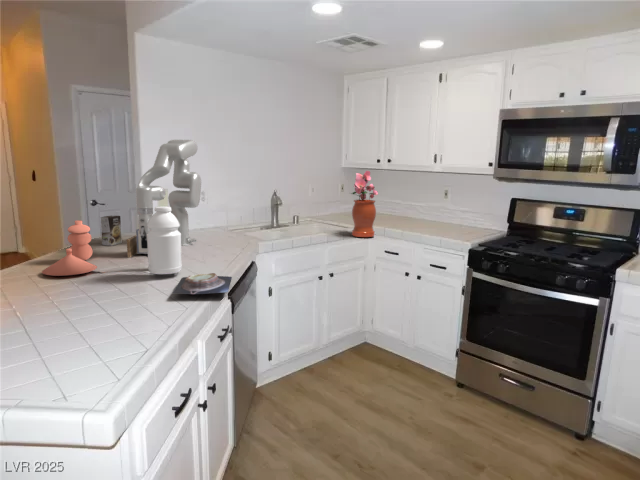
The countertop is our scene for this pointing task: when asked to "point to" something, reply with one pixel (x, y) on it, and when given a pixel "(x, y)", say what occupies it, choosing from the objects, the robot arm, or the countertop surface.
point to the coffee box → (111, 230)
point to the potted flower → (363, 207)
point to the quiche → (203, 284)
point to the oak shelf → (132, 246)
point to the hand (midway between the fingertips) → (146, 246)
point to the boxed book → (139, 247)
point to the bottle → (164, 242)
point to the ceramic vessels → (74, 253)
